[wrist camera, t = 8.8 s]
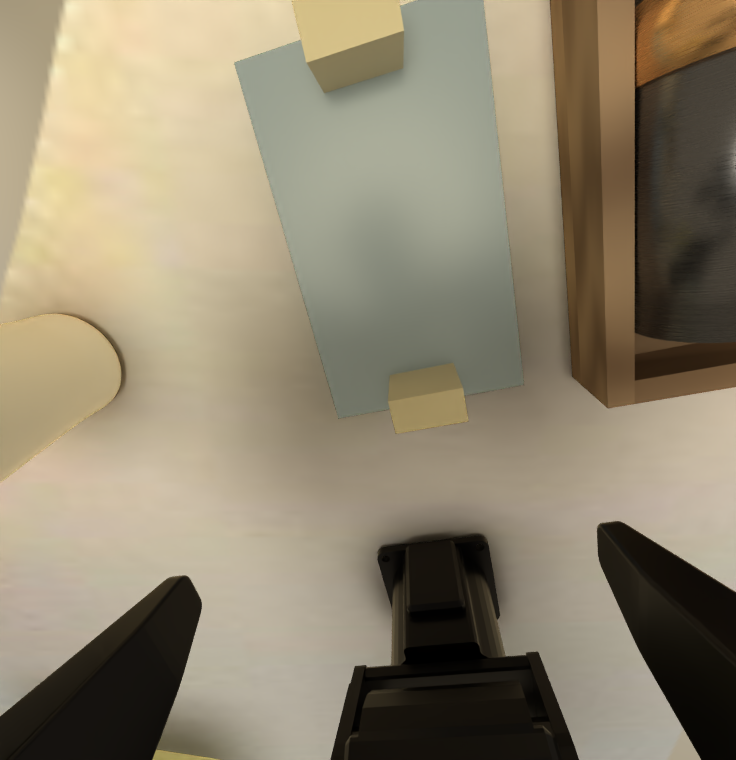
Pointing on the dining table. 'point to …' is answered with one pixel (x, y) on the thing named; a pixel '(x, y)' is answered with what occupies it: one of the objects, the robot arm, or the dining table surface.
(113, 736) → the robot arm
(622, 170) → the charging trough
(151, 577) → the dining table surface
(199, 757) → the slatted curved stool
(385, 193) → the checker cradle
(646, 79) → the battery cell
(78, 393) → the drinking glass
